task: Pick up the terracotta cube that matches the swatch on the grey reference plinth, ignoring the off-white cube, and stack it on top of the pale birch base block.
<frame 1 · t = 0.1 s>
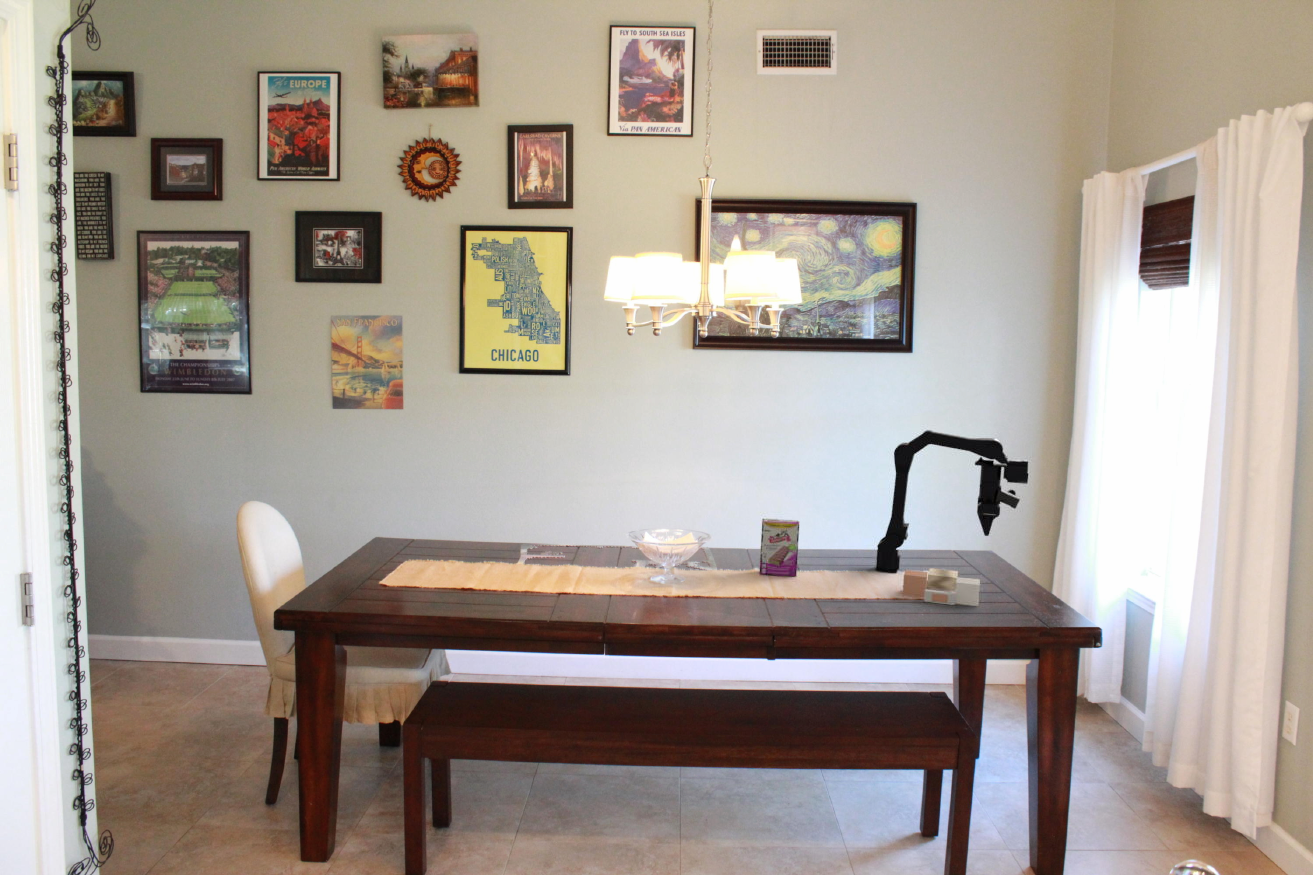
hand: (986, 532, 270), 15 cm above the table, fingers open, 9 cm apart
reference plinth: (939, 602, 248), on the table
offwhite cube: (966, 602, 249), on the table
terracotta cube: (914, 594, 256), on the table
base block: (942, 586, 266), on the table
candy bar box: (778, 574, 273), on the table
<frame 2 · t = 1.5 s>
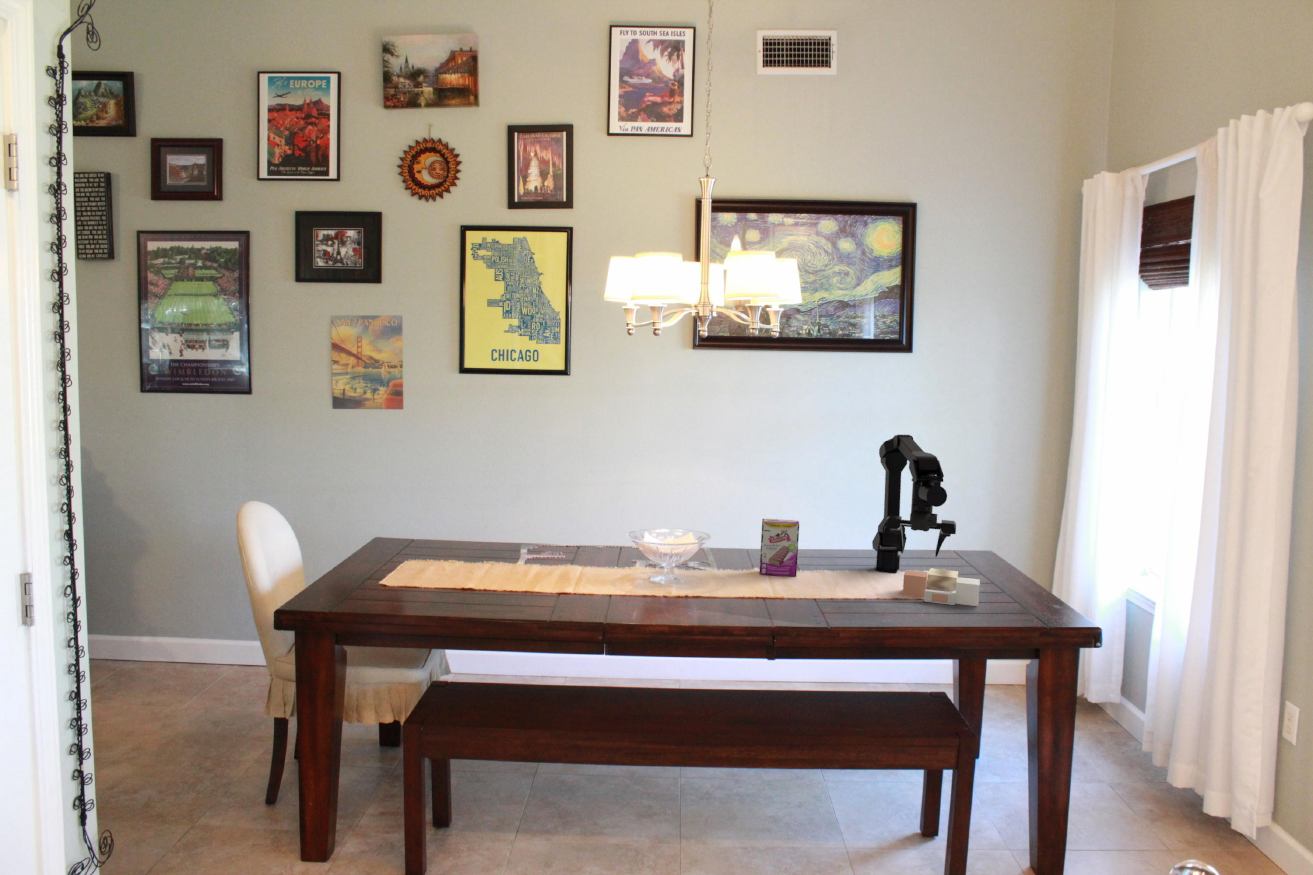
hand: (919, 554, 255), 11 cm above the table, fingers open, 9 cm apart
nothing on the table moved.
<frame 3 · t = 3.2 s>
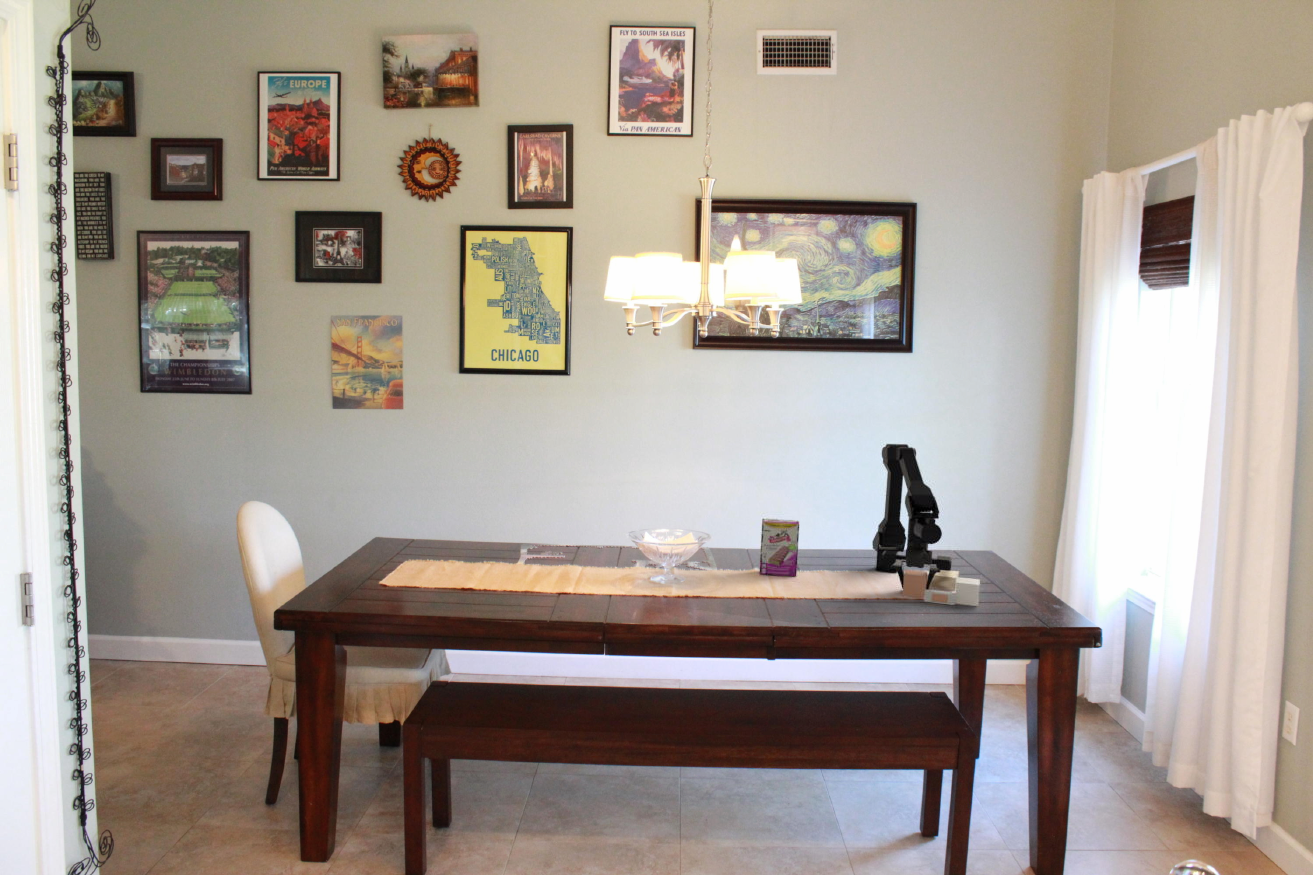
hand: (914, 590, 256), 1 cm above the table, fingers closed on terracotta cube, 6 cm apart
terracotta cube: (914, 593, 256), on the table, touching gripper
everything else where it was.
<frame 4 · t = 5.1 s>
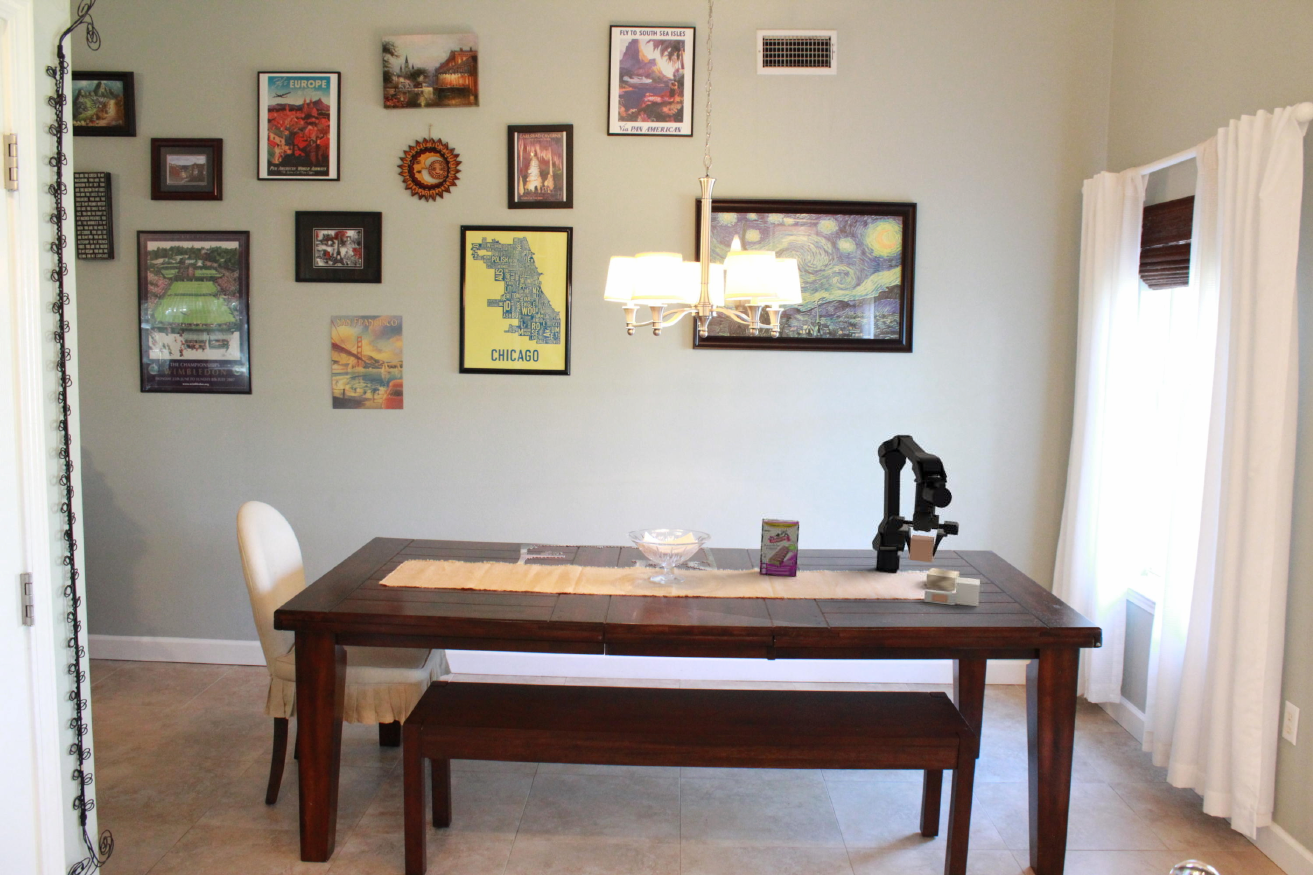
hand: (921, 554, 256), 11 cm above the table, fingers closed on terracotta cube, 6 cm apart
terracotta cube: (921, 558, 256), point 10 cm above the table, touching gripper
everything else where it was.
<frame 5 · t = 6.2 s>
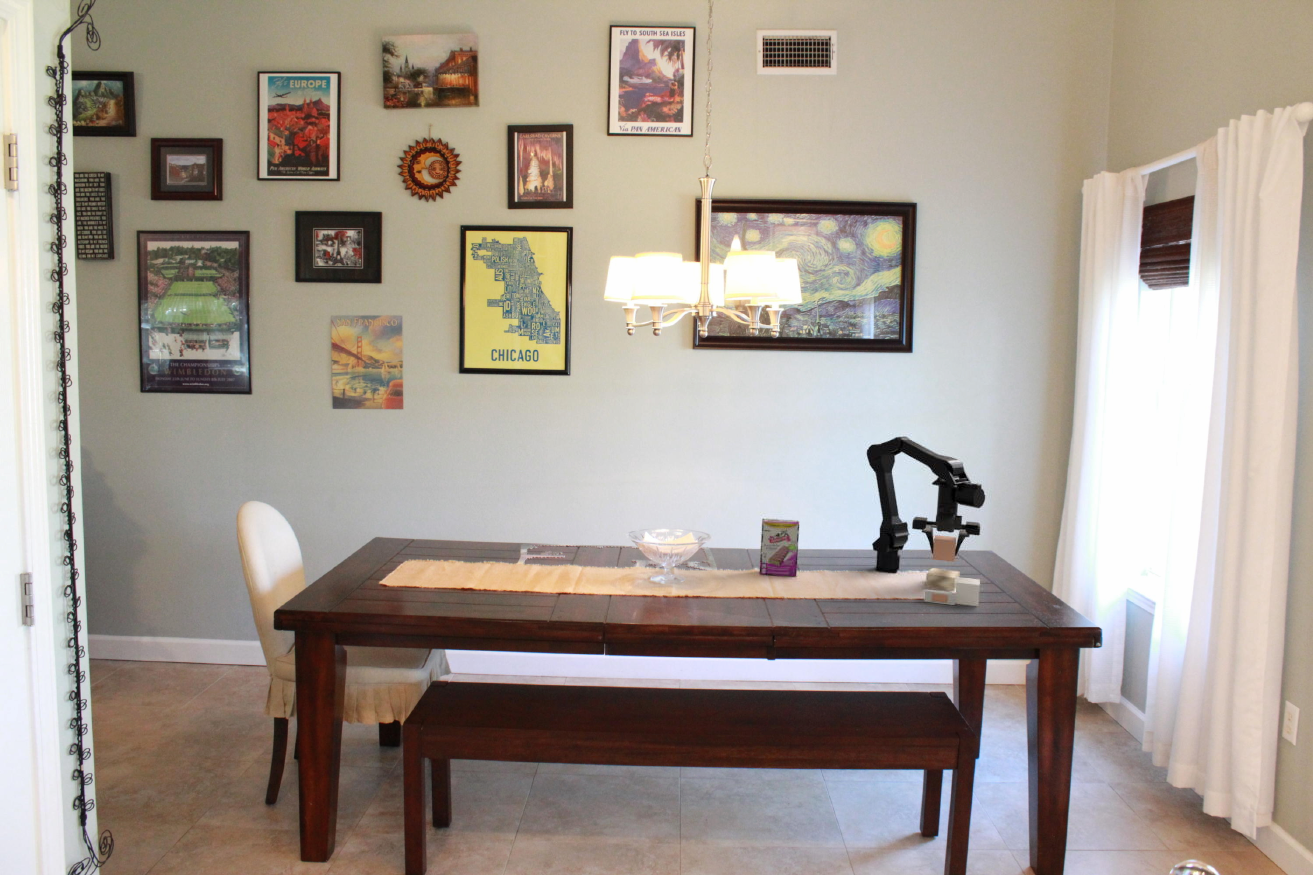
hand: (944, 554, 265), 9 cm above the table, fingers closed on terracotta cube, 6 cm apart
terracotta cube: (943, 558, 265), point 8 cm above the table, touching gripper
everything else where it was.
when the fingers open (6 cm above the table, at t = 7.1 s): terracotta cube drops 2 cm, point 4 cm above the table.
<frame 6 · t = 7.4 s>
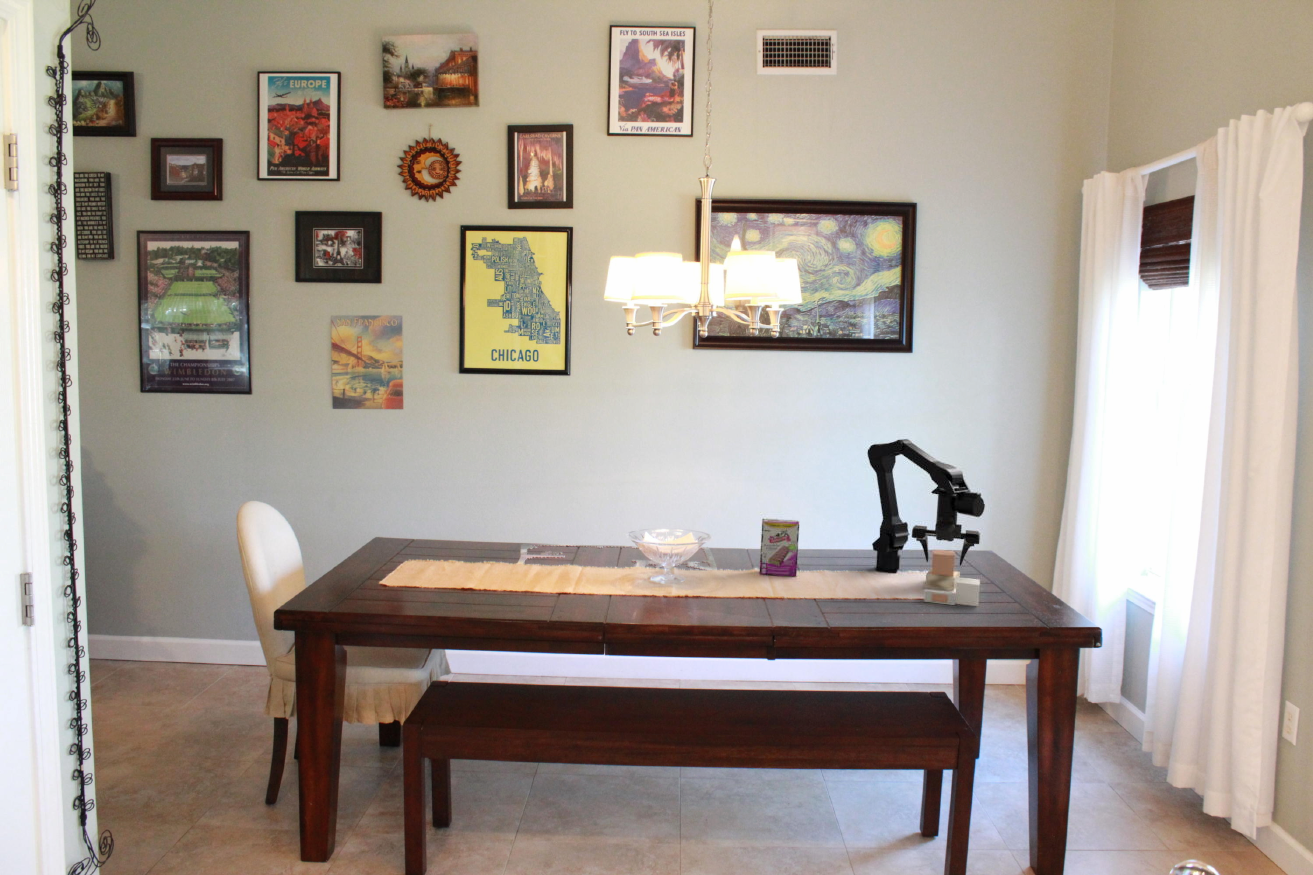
hand: (943, 563, 265), 6 cm above the table, fingers open, 9 cm apart
terracotta cube: (942, 572, 265), point 4 cm above the table
everything else where it was.
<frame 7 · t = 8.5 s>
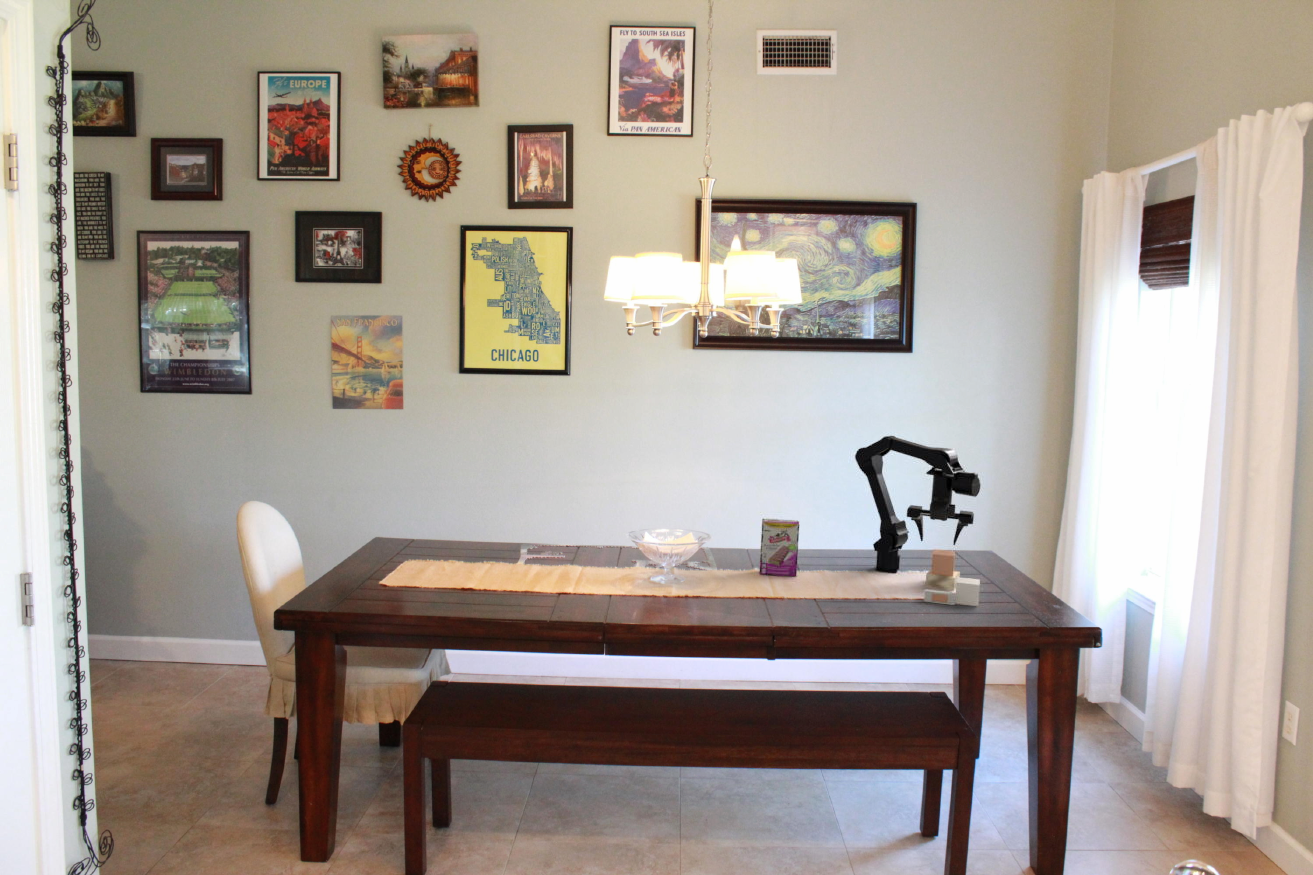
hand: (937, 542, 269), 11 cm above the table, fingers open, 9 cm apart
terracotta cube: (942, 572, 265), point 4 cm above the table, touching base block
base block: (942, 586, 266), on the table, touching terracotta cube
everything else where it was.
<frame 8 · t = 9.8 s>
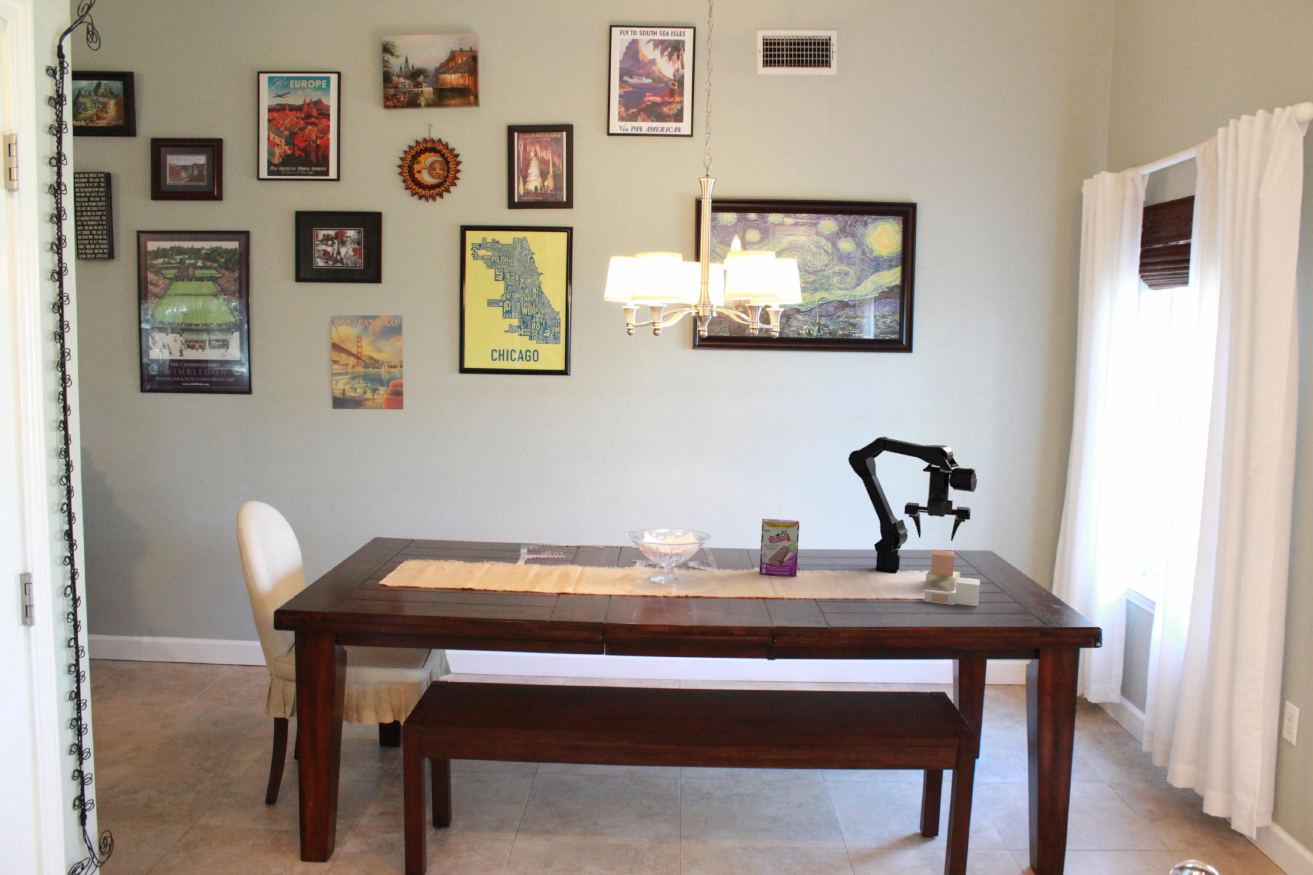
hand: (935, 539, 272), 12 cm above the table, fingers open, 9 cm apart
nothing on the table moved.
at the end: terracotta cube 0.3 cm off-centre on the base block, point 4.0 cm above the base block's base; terracotta cube tilted 0°; offwhite cube moved 0.1 cm from its start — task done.
